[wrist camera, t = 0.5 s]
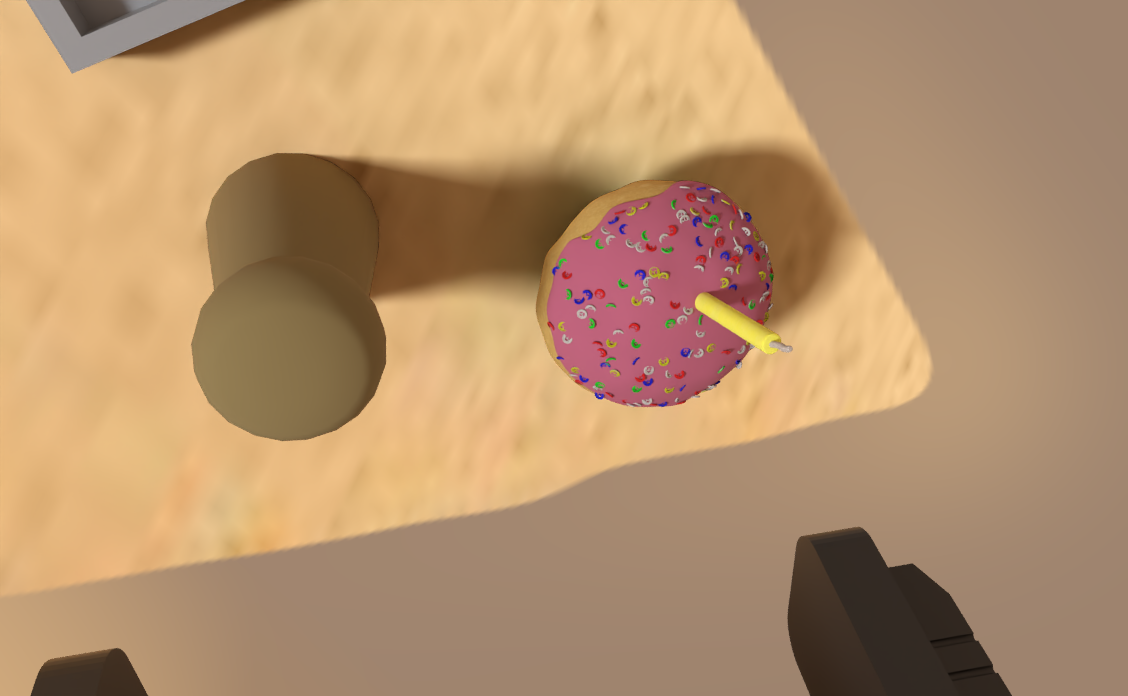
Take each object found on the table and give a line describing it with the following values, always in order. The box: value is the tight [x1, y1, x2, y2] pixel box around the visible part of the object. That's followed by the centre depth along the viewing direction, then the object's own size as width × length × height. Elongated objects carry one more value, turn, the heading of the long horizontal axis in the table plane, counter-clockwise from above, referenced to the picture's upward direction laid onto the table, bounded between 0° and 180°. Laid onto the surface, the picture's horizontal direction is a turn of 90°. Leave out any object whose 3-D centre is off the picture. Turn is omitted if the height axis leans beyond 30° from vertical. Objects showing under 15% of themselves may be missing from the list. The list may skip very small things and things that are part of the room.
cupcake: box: [536, 180, 793, 407], centre depth 33 cm, size 9×8×12 cm
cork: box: [191, 153, 386, 441], centre depth 30 cm, size 6×6×11 cm
